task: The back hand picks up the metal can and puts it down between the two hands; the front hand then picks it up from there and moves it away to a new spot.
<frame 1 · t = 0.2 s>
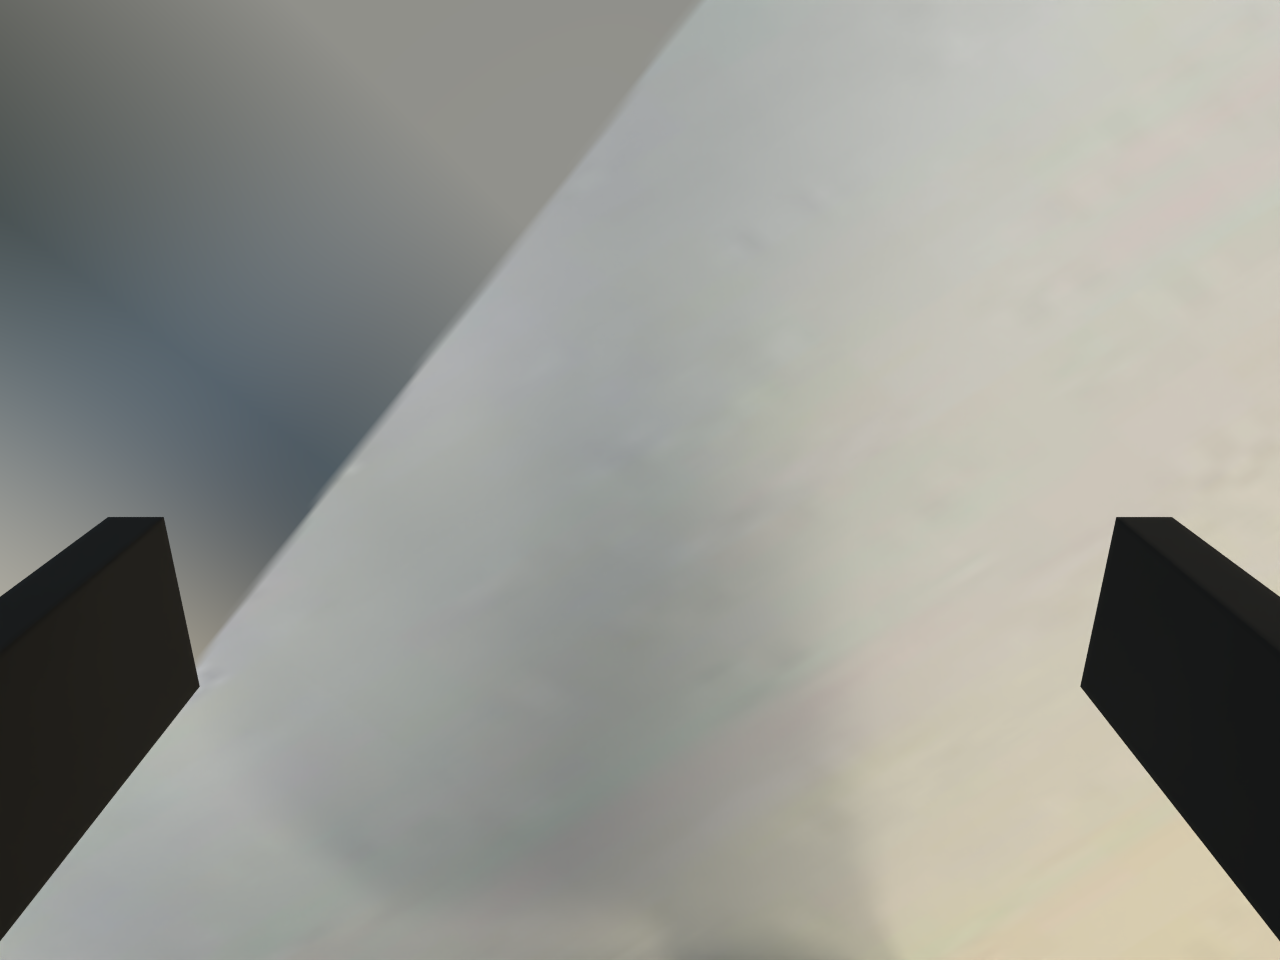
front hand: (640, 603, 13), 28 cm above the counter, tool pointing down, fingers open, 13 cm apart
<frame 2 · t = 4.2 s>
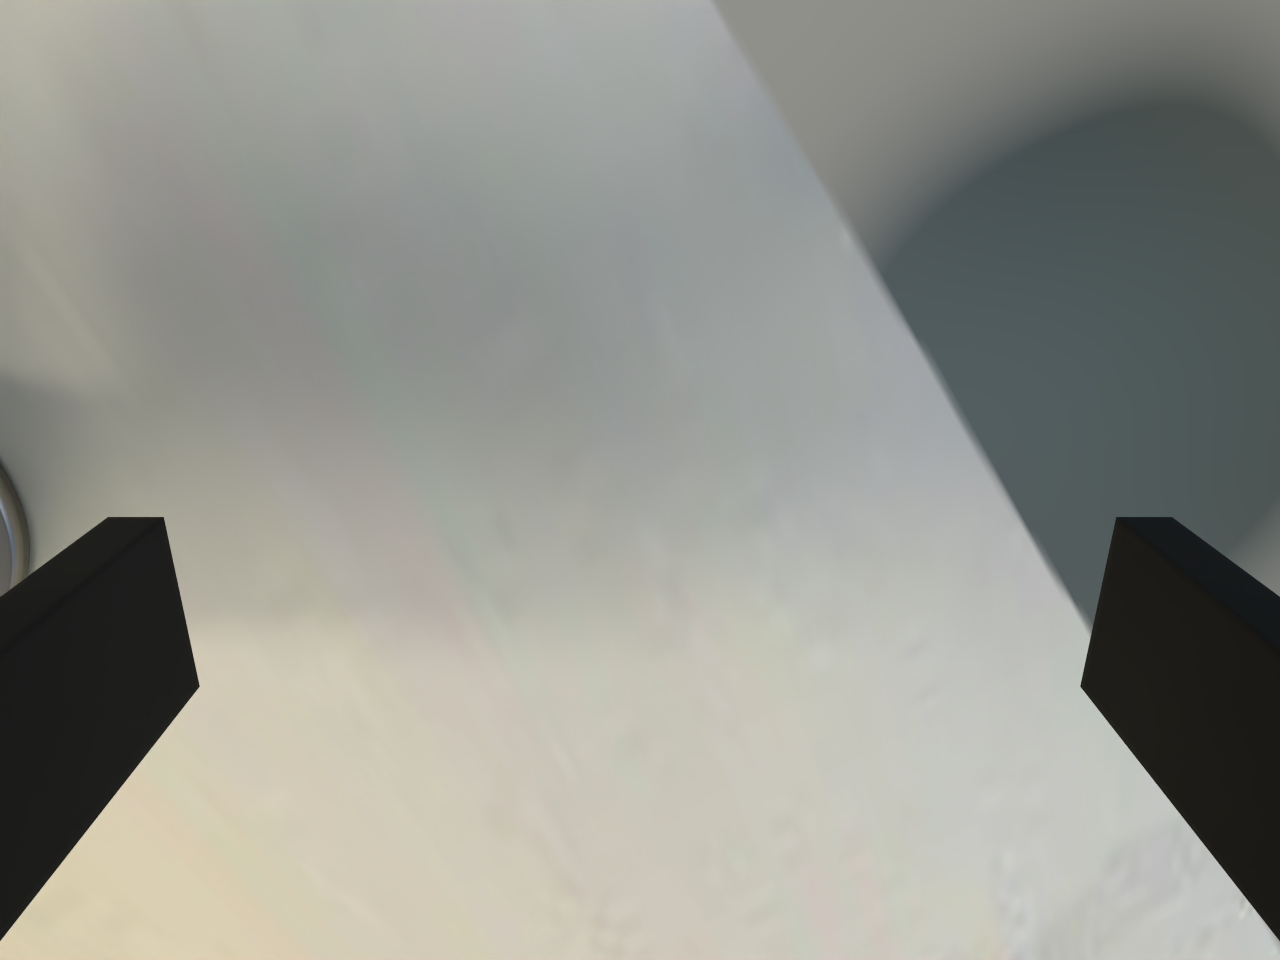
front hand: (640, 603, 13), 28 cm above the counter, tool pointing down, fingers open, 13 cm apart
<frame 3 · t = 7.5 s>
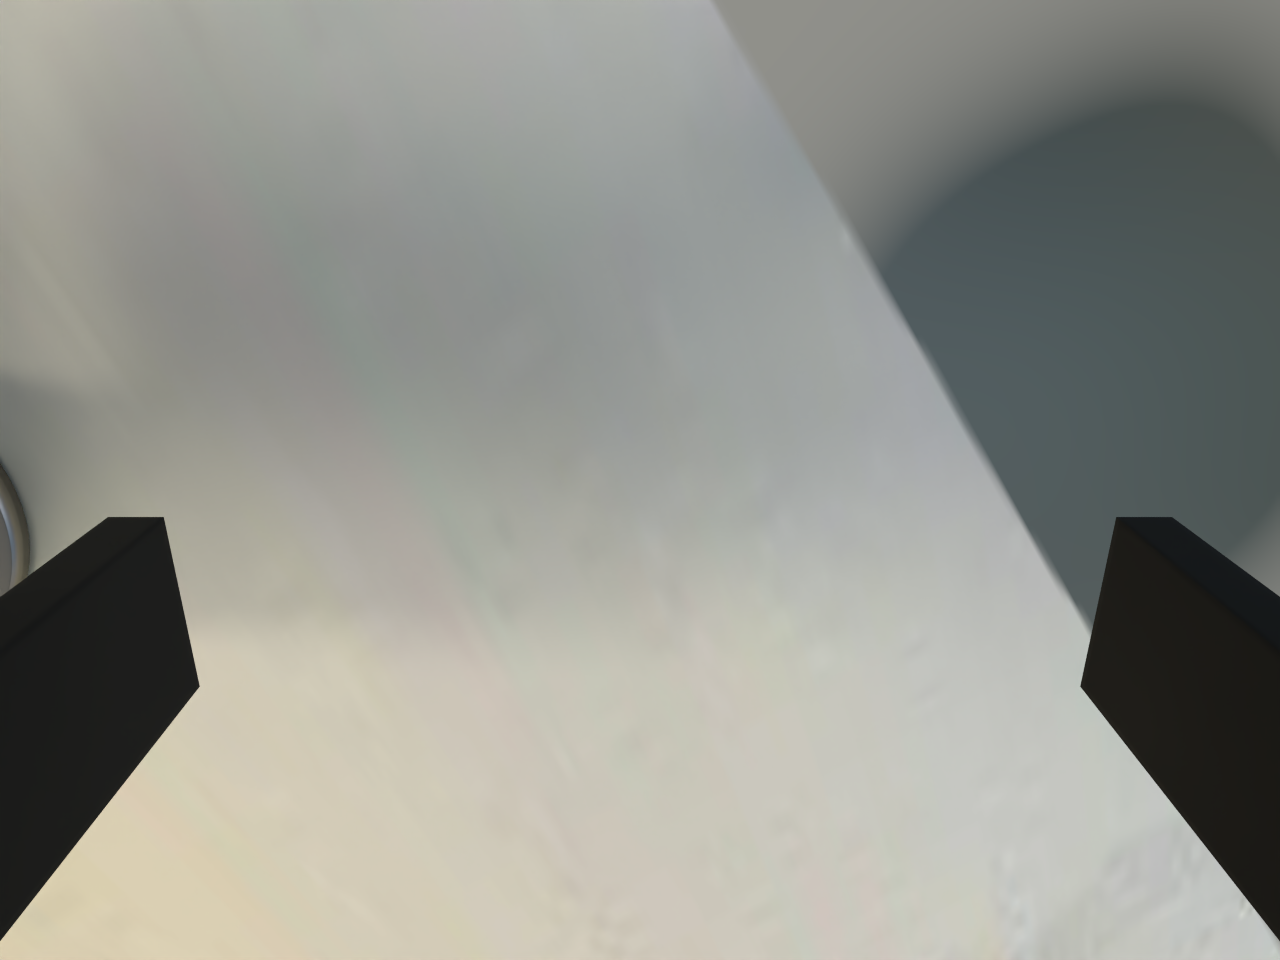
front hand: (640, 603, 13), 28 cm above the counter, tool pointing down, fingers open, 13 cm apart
when the back hand's fingers open (4 cm above the counter, at t = 10.7 s): can drops 2 cm, on the counter.
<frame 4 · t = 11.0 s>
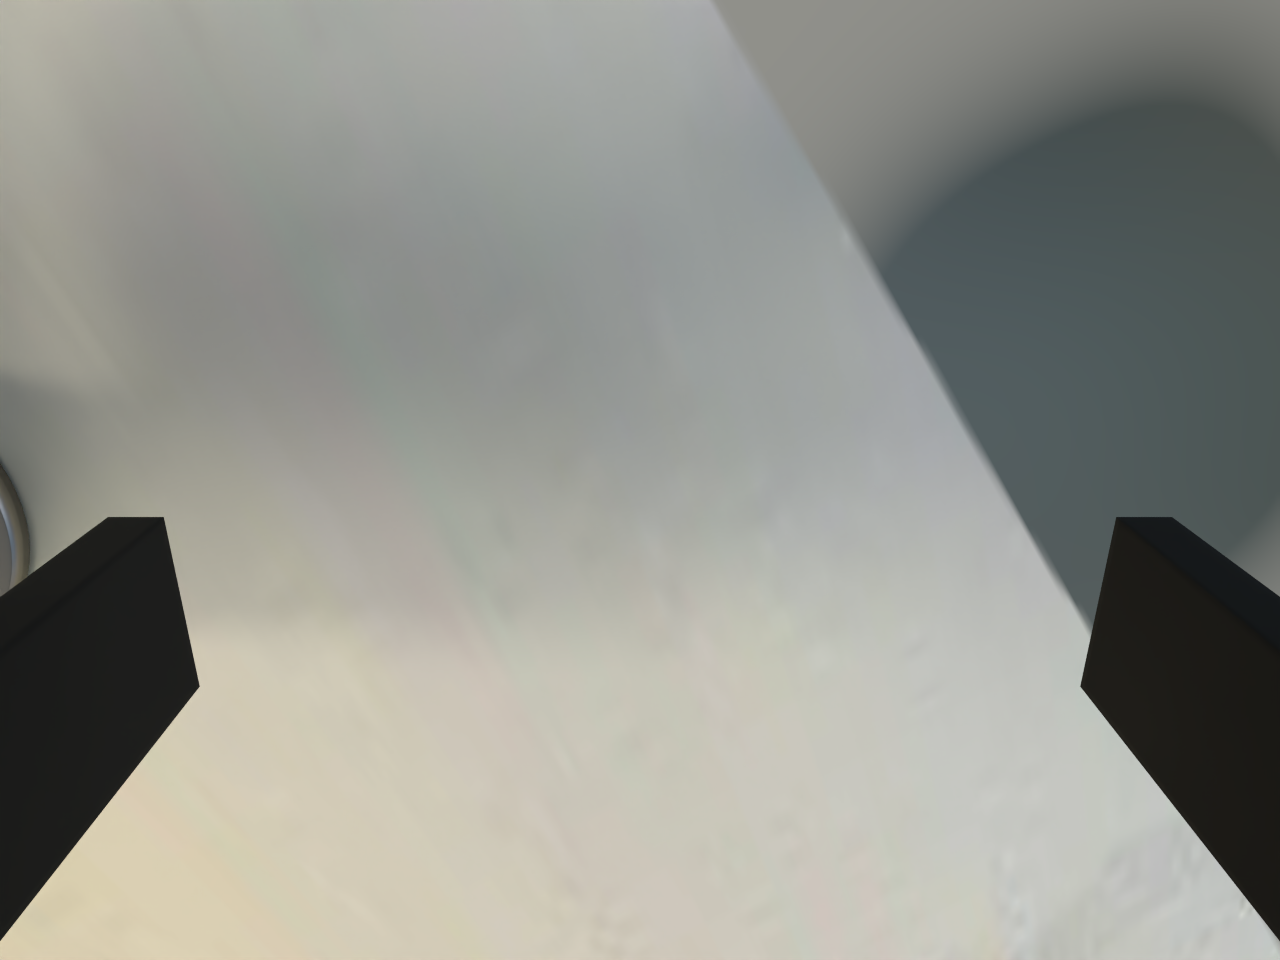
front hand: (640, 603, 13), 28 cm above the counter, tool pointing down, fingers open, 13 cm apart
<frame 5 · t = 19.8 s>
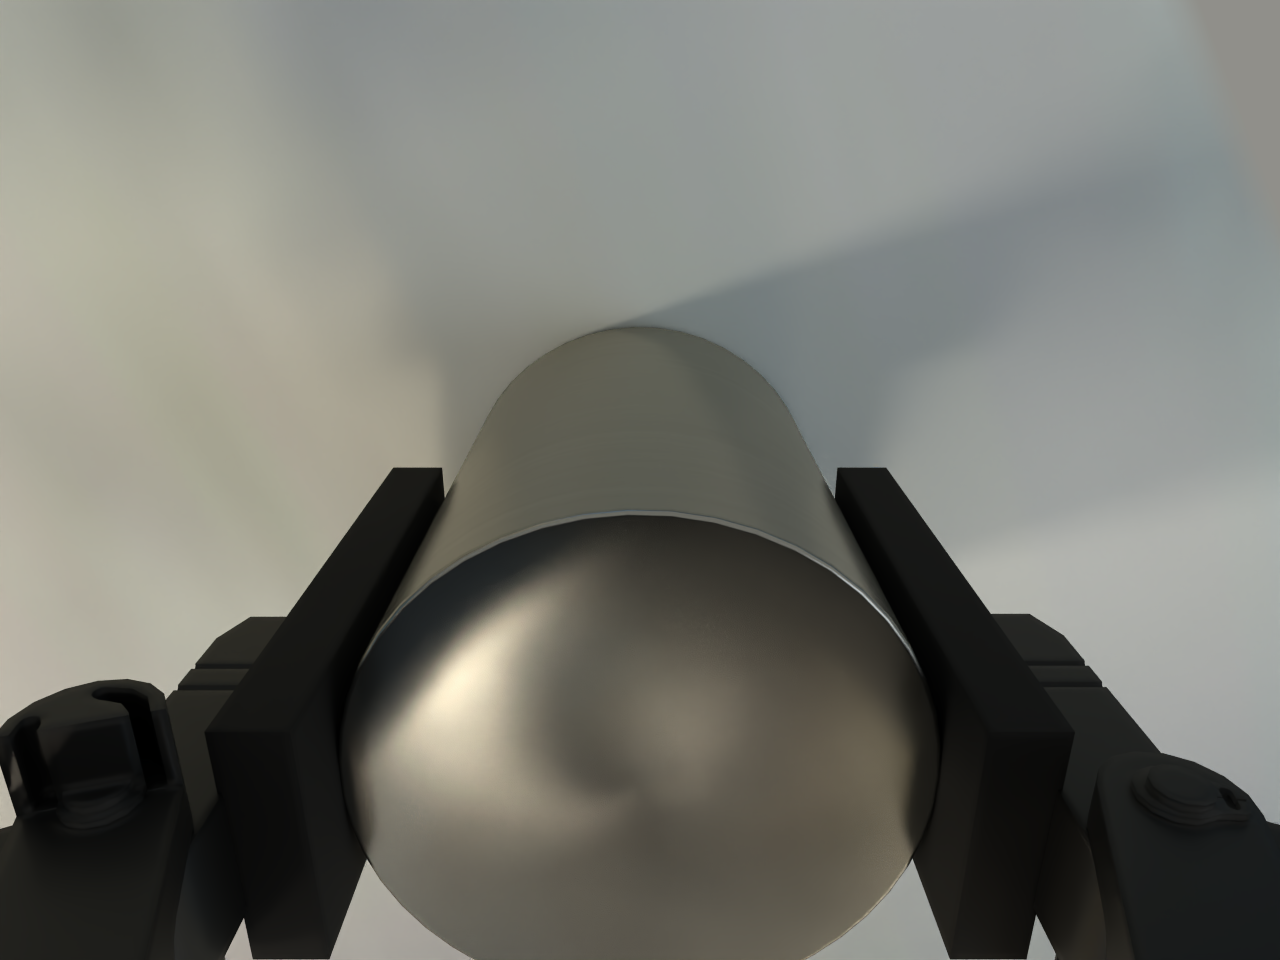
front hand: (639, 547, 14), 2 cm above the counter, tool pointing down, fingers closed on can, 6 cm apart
can: (639, 492, 17), on the counter, touching front hand
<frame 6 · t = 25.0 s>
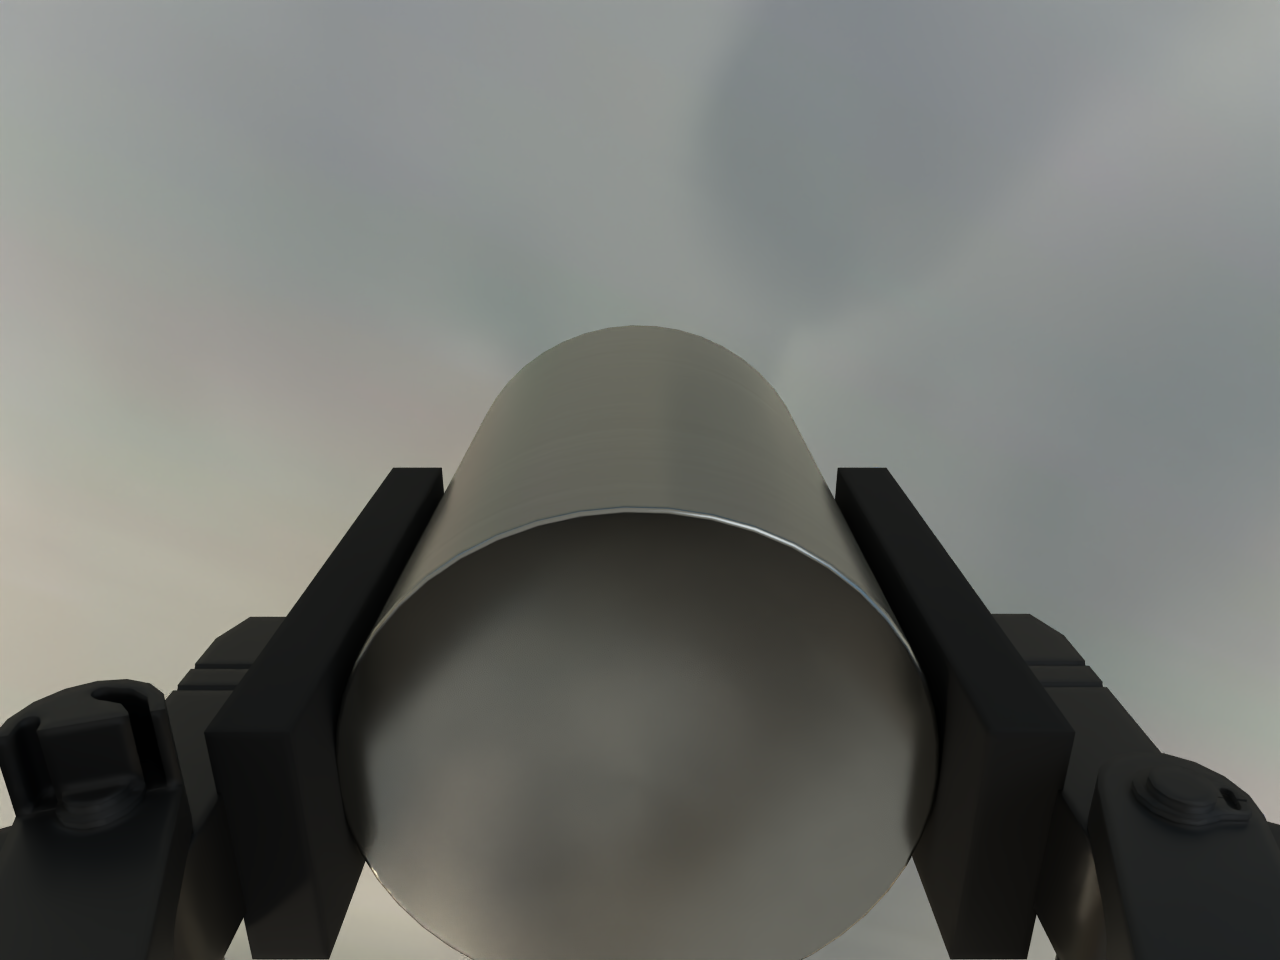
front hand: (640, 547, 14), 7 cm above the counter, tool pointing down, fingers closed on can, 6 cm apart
can: (638, 491, 16), point 5 cm above the counter, touching front hand
when the front hand's fingers open (4 cm above the counter, at t = 30.7 s): can drops 2 cm, on the counter.
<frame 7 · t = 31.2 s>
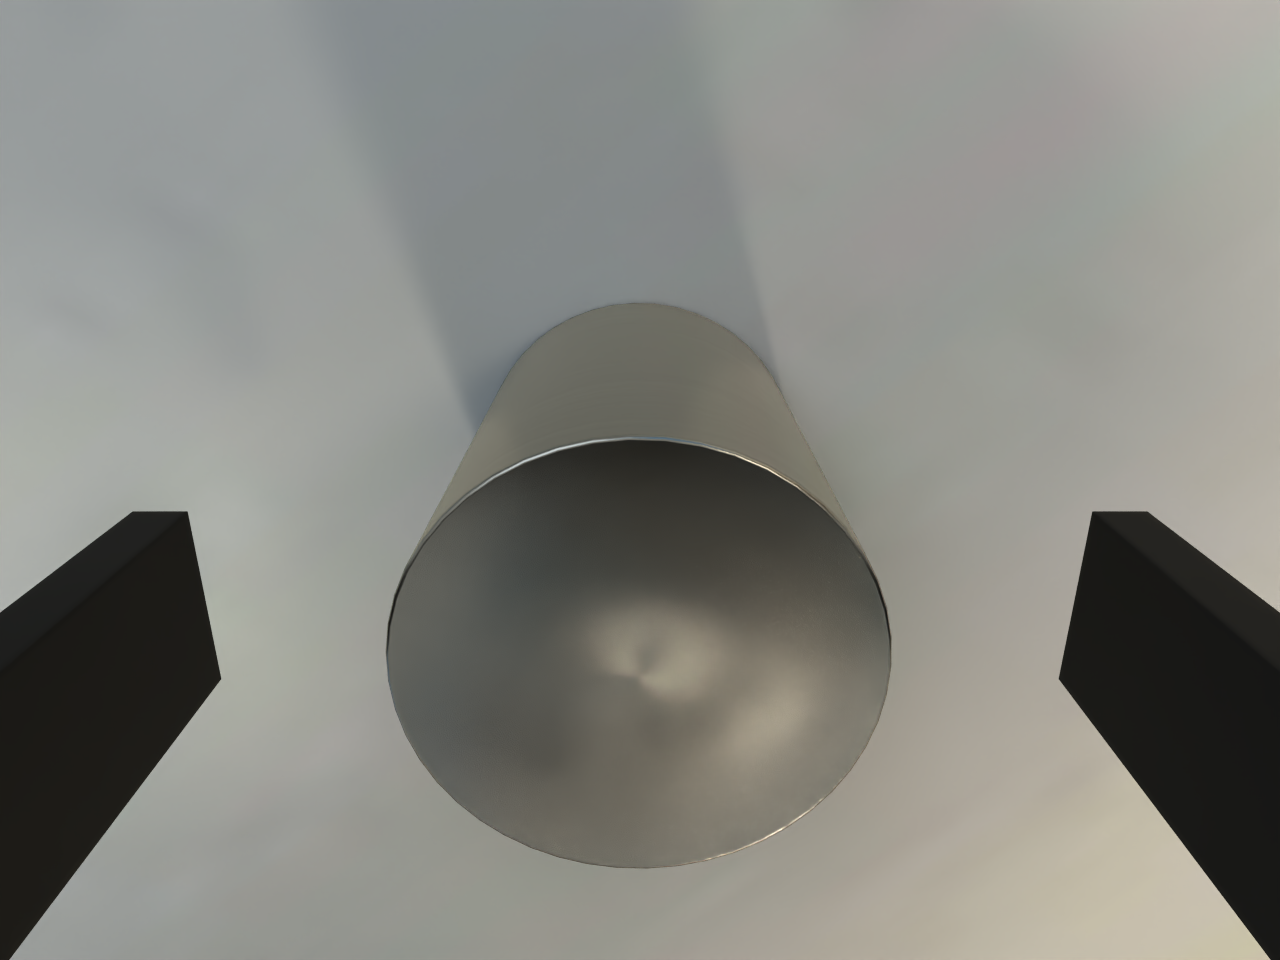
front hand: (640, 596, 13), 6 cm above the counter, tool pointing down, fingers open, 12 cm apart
can: (639, 454, 18), on the counter
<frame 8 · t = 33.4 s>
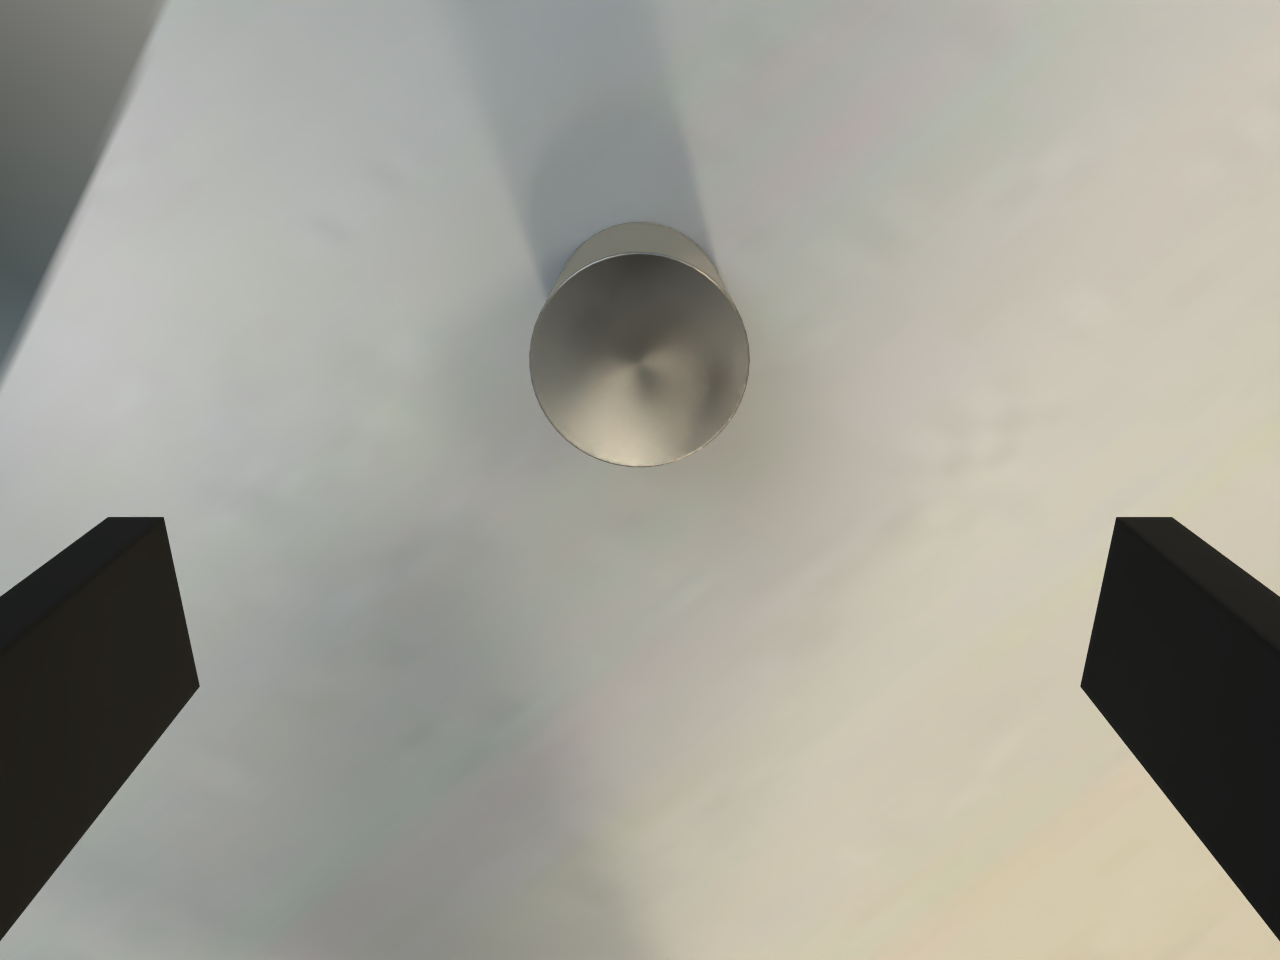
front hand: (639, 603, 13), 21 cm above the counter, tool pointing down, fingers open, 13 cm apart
can: (639, 310, 32), on the counter
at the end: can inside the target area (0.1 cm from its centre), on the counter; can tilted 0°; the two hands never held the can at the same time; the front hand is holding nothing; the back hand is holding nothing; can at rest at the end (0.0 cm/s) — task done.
